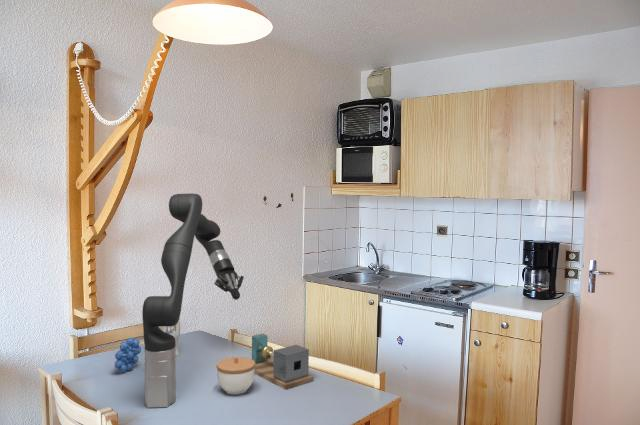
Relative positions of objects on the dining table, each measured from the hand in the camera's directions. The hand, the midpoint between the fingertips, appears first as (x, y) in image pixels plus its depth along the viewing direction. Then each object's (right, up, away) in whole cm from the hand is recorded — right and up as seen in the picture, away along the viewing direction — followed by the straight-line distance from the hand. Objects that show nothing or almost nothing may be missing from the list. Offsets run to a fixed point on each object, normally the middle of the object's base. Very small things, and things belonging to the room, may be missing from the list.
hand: (237, 298), depth 193 cm
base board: (+17, -25, -14) cm, 33 cm away
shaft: (+15, -23, -11) cm, 29 cm away
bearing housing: (+22, -24, -20) cm, 38 cm away
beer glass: (-27, -24, +6) cm, 37 cm away
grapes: (-39, -25, -12) cm, 47 cm away
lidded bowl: (+4, -26, -28) cm, 39 cm away
